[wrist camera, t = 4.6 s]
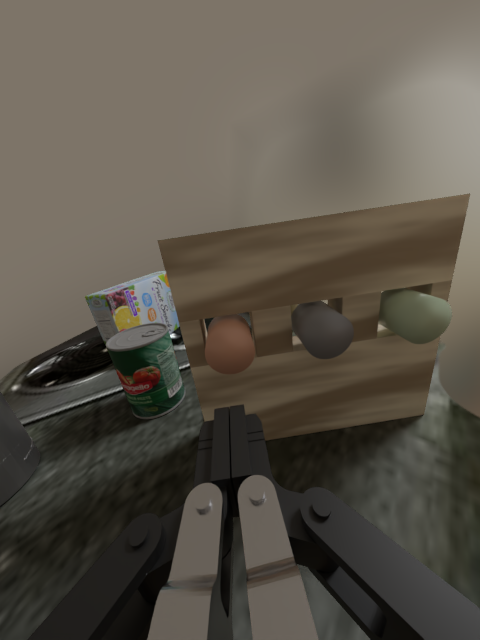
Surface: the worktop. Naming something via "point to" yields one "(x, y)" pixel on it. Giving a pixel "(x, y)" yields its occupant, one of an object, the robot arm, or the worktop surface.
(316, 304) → the grey button
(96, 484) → the worktop surface
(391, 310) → the sage button
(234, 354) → the terracotta button
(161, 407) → the canned tomato
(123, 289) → the snack box
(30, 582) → the worktop surface
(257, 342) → the button panel
